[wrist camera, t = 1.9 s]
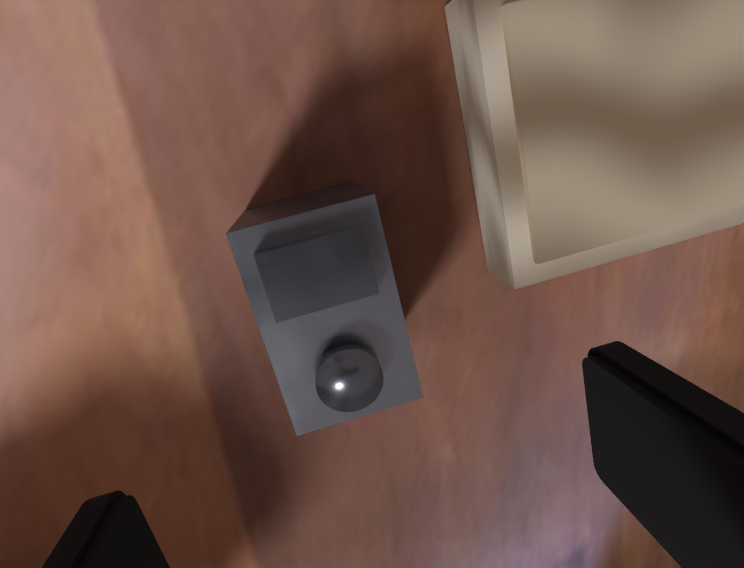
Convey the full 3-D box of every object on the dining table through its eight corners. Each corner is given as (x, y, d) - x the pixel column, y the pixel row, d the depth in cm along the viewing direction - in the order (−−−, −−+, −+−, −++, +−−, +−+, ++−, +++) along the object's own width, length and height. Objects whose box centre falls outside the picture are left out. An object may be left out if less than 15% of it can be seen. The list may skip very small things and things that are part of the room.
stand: (444, 7, 19) (474, -22, 16) (701, -54, 20) (778, -93, 17) (488, 271, 23) (519, 292, 20) (702, 210, 24) (766, 219, 21)
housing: (245, 209, 20) (221, 238, 14) (353, 181, 21) (379, 196, 14) (296, 364, 23) (297, 449, 16) (391, 336, 23) (428, 408, 17)
